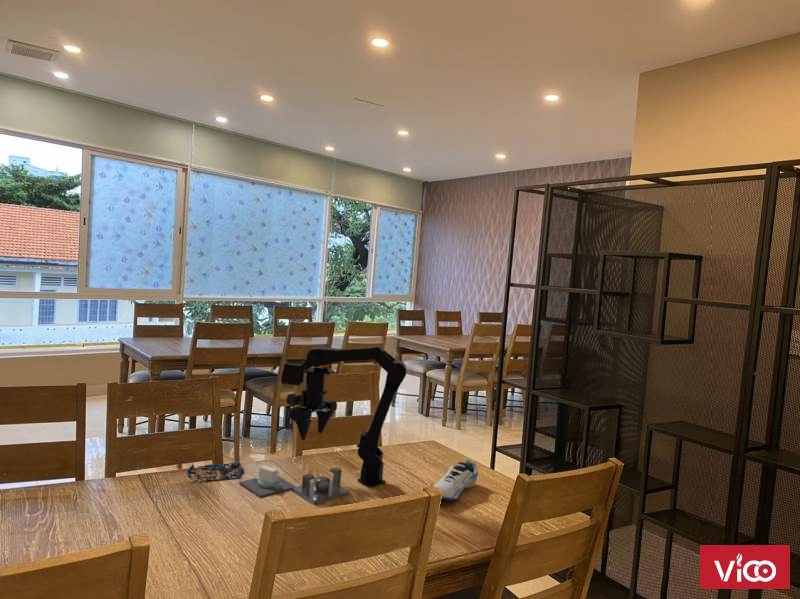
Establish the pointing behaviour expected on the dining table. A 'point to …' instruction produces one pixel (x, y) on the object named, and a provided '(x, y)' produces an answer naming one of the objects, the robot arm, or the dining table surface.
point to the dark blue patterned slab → (223, 469)
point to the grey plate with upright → (321, 487)
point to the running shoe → (457, 480)
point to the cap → (268, 478)
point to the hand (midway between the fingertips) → (311, 436)
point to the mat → (262, 492)
